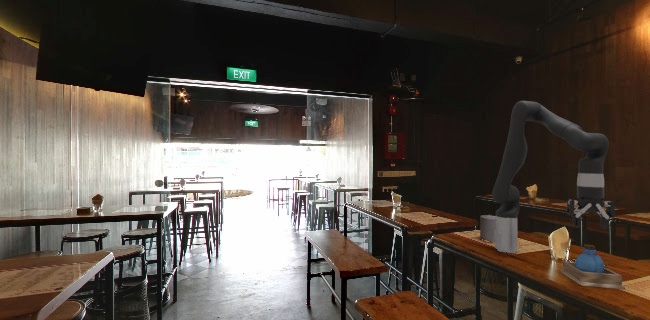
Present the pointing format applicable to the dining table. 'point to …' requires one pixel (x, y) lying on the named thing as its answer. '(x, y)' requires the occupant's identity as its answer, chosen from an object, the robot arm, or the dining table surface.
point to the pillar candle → (487, 227)
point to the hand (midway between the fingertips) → (589, 227)
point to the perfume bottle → (590, 261)
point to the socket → (593, 277)
